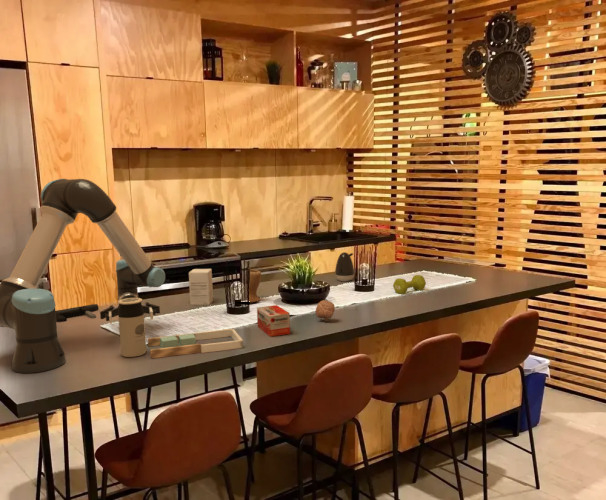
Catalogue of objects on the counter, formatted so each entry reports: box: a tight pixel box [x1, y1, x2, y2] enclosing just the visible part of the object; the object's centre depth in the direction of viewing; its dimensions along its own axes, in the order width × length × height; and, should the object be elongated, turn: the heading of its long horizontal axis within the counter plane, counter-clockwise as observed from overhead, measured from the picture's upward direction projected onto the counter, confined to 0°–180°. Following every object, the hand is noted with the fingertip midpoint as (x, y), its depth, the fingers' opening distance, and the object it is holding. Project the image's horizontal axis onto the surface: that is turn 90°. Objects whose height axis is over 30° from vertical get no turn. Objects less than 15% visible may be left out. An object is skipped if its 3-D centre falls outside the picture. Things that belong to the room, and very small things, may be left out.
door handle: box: [55, 303, 99, 323], centre depth 236 cm, size 3×20×16 cm
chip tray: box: [194, 328, 244, 354], centre depth 194 cm, size 14×16×2 cm
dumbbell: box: [392, 274, 427, 295], centre depth 269 cm, size 16×8×7 cm, turn 127°
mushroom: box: [315, 299, 336, 323], centre depth 219 cm, size 8×6×8 cm
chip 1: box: [159, 335, 179, 348], centre depth 188 cm, size 5×5×4 cm
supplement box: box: [188, 268, 214, 306], centre depth 255 cm, size 9×9×15 cm
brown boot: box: [249, 268, 262, 304], centre depth 257 cm, size 15×12×15 cm
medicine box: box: [256, 304, 291, 338], centre depth 208 cm, size 15×8×8 cm, turn 22°
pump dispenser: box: [334, 252, 355, 282], centre depth 299 cm, size 10×10×15 cm
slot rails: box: [147, 332, 202, 359], centre depth 189 cm, size 16×14×3 cm
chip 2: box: [178, 333, 197, 346], centre depth 190 cm, size 5×5×4 cm
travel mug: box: [117, 297, 147, 358], centre depth 184 cm, size 8×8×18 cm
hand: (131, 317), depth 192 cm, fingers open, 13 cm apart
